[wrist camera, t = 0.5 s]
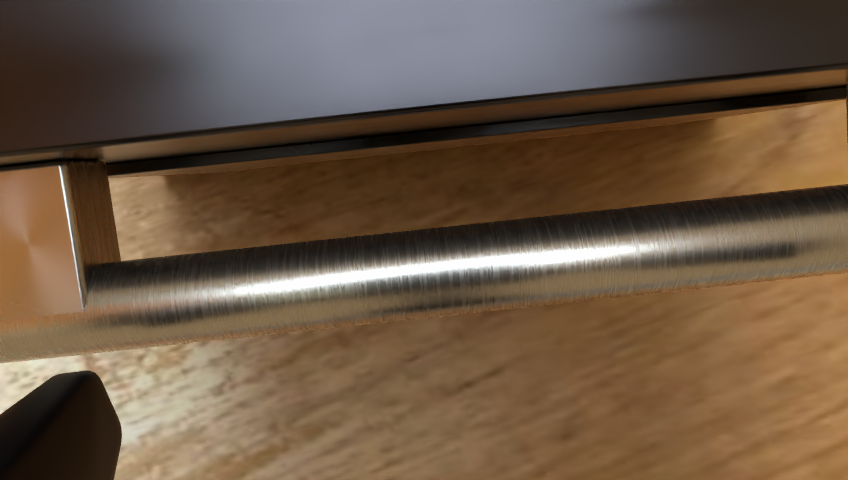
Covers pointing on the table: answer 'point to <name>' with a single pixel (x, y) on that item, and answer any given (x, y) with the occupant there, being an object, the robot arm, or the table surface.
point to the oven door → (382, 153)
